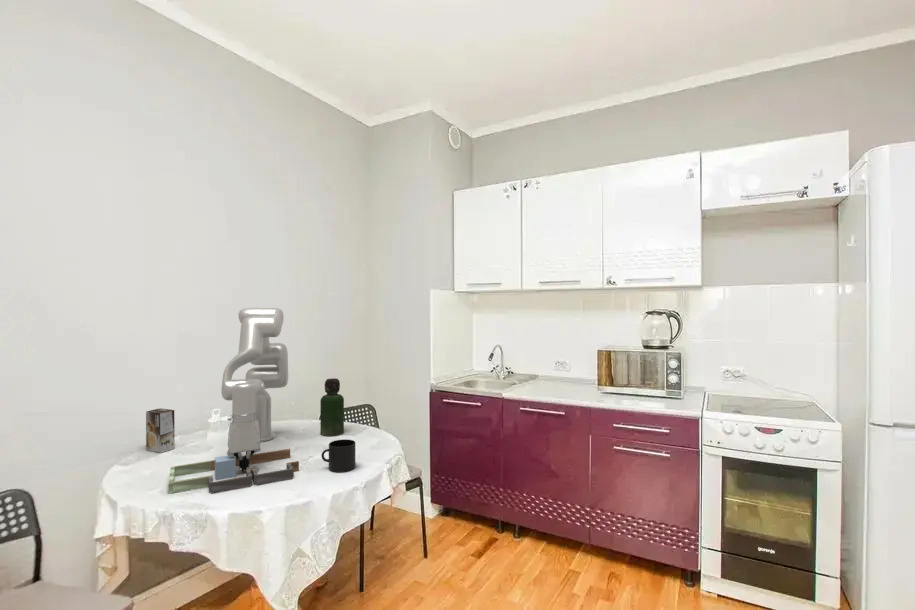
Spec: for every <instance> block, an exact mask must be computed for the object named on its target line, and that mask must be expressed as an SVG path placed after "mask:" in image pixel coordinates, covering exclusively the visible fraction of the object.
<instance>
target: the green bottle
mask: <svg viewBox="0 0 915 610" xmlns="http://www.w3.org/2000/svg"><path fill="white" fill-rule="evenodd" d="M340 387H341V382H340V380H339V379H338V378H334V377H333V378H326V380H325V382H324V392H325V393H326V394H324V395H323V396H322V397H321V398H320V403H319V404H320V406H319V408H320V409H319V410H320V411H319V412H320V423H319V424H320V426H319V427H320V432H319V433H320V435H322V436H324V437H335V436H339V435H342V434H344V433H345V404H344V403H345V397H344V396H343V395H342V394H339V392H340Z"/></svg>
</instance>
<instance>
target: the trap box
mask: <svg viewBox="0 0 915 610" xmlns="http://www.w3.org/2000/svg"><path fill="white" fill-rule="evenodd" d="M242 456H243V458H244V457H245V455H242ZM290 458H291V449H290V448H285V449H279V450H272V451H265V452H259V453H258V452H257V453H254V454H253V455H252V456H251V457H250V458H249V465H255V464H260V463H266V462H273V461H279V460H286V459H290ZM235 459H236V468H237V467H239V459H238V458H237V457H235ZM285 467H286V468H285V469H280V470H274V471H269V472H263V473H258V471H257V470H258V469H257V467H254V468H247V470H246V471H245V476H240V477H232V478H226V479H220V480H215V481H214V475H205V476H199V477H194V478H188V479H182V480H175V479H176V478H175V477H178V476H179V477H180V476H186V474H187V475H193V474H199V473H205V472H209V471H210V472H211V471H215V459H214V460H207V461H200V462H194V463H187V464H181V465H173V466H170V470H169V476H168V484H167V485H168V488H167V489H168V493H167V494H168V495H172V494H175V492H177V493H181V492H180V491H183V492H187V491H186V490H188V491H192V490H191V489H194V490H198V488H200V489H204V488H208V494H209V493H211V494H217V493H224V492H228V491H233V490H234V489H235V490H239V489H240V490H241V489H244V488H249V487H251V486H253V485H256V486H261V485H266V484H267V485H268V484H271V483H278V482H282V481H288V480H292V479H293V478H294V473H295V472H299V471H300V462H299V460H295V461H290V462H289V461H288V462H286V465H285Z"/></svg>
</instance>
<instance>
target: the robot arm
mask: <svg viewBox="0 0 915 610" xmlns="http://www.w3.org/2000/svg"><path fill="white" fill-rule="evenodd" d="M238 319H239V323H240V334H239V342H238V343H239V344H238V353H237V354H236V355H235V356H234V357H233V358H231V360H230V361H229V362H228V364H227V365H226V366H225V368H224V371H223V374H222V380H221V381H222V382H221V388H220V389H221V390H220V391H221V396H222V398H223V399H224V400H225V401H231V403H232V404H231V405H232V406H231V408H232V410H231V412H232V413H231V415H230V416H227V421H231V422H230V424H229V428H228V438H227V448H228V449H227V452H226V456H227V455H228V456H235V457H237V458H238V459H239V466H238V468H239V469H240V470H241V472H244V471H245V472H246V470H247V469H248V468H249V467H250V464H249V458H250V457H251V456H252V455H253V454H257V453H258V452H261V443H262V442H269V441H271V440H273V439H274V438H275V437H276V434H275V433H274V432H272V397H271V395H270V393H268V391H267V389H281V388H282V389H283V388H285V387H287V386H288V382H289V358H288V357H289V355H288V354H289V353H288V348H287V345H285V344H284V343H282V342H273V343H271V342H270V338H277V337H278V336H280V335H281V332H282V329H283V328H282V327H283V324H284V323H283V322H284V312H283V310H282V309H280V308H278V307H246V308H242V309H240V310H239V311H238ZM249 363H250V364H251V365H252V366H253V365H254V366H257V367H252V368H249V369H248V370H247V371H246V372H245V373H246V374H245V378H243V379H242V378H240V379H238V378H237V379H233V375H234V373H235V372H236V371H237V370H238V369H239V368H241V367H243V366H245V365H247V364H249ZM268 365H269V366H268ZM270 365H271V366H270ZM273 365H274V366H273ZM243 453H245V454H244V455H243ZM243 456H245V457H244V458H243Z"/></svg>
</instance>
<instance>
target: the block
mask: <svg viewBox="0 0 915 610" xmlns="http://www.w3.org/2000/svg"><path fill="white" fill-rule="evenodd" d="M214 460H215V470H214V477H215V481H221V480H227V479H233V478H237V477H236V476H237V475H236V474H237V473H236V471H237V467H236V459H235V456H228V455H227V454H226V455H222V456H215V457H214Z"/></svg>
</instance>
